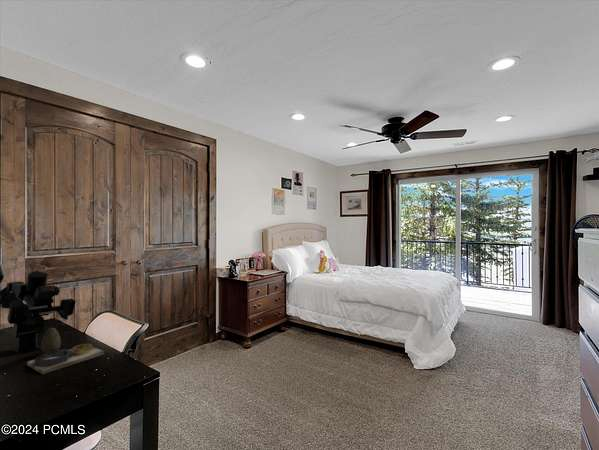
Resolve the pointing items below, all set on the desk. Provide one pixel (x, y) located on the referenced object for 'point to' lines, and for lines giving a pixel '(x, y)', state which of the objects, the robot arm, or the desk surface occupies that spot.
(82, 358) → the fitting board
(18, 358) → the desk surface
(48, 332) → the decorative egg
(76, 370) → the desk surface
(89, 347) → the narrow collar
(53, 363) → the collar
